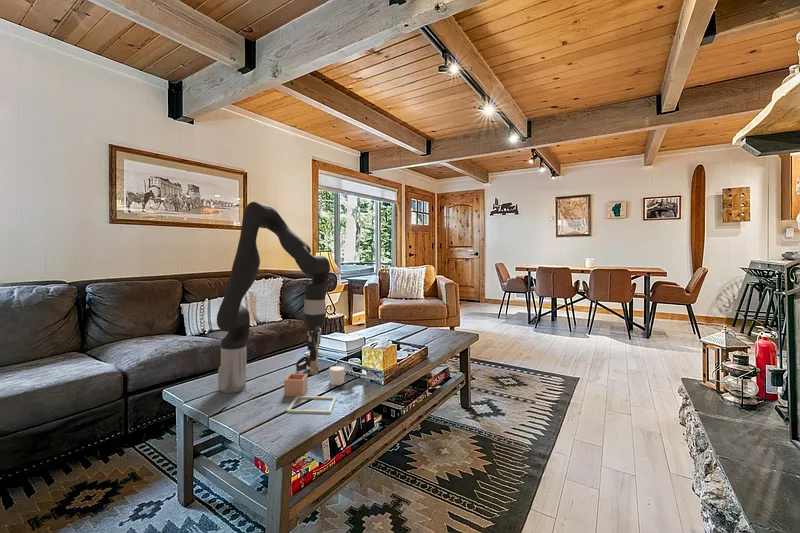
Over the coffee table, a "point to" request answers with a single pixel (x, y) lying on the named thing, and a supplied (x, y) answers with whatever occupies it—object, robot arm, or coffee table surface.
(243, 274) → the robot arm
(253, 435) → the coffee table surface
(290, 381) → the square clay pot
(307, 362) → the brown curved piece
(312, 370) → the birch pin
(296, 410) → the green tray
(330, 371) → the beige cylinder
